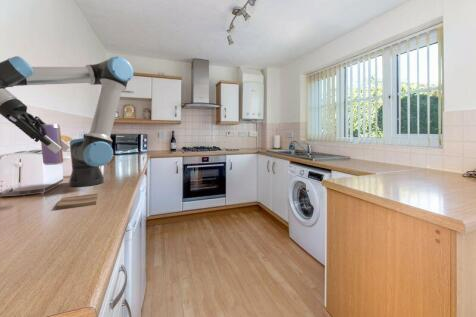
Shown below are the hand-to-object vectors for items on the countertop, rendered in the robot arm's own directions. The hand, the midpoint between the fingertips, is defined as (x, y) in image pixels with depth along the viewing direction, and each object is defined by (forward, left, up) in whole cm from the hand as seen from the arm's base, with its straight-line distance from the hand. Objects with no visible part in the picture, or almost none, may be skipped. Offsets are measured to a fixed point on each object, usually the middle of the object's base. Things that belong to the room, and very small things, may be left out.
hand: (63, 149), depth 89 cm
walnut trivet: (+5, +4, -20) cm, 21 cm away
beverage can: (-1, -4, -6) cm, 7 cm away
